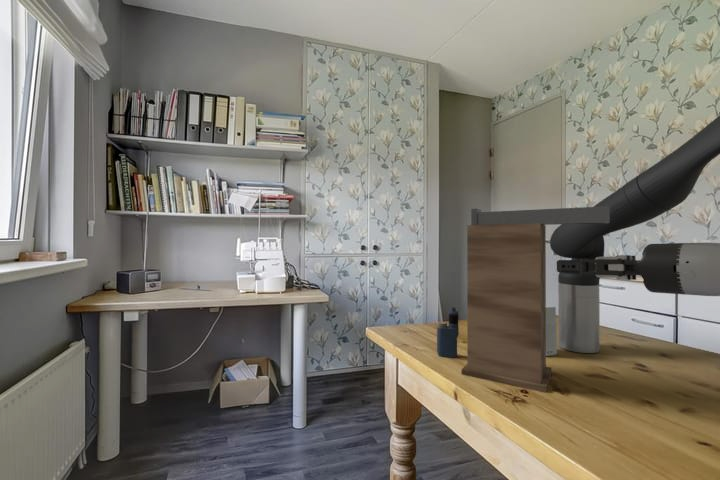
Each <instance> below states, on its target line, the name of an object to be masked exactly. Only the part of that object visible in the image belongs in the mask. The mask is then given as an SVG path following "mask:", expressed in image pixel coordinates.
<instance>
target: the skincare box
mask: <svg viewBox="0 0 720 480" xmlns="http://www.w3.org/2000/svg"><path fill="white" fill-rule="evenodd" d="M556 314H557V313H556V306H551V305H546V357H551V356H555V355H557V354H558V342H557V341H558V336H557V316H556Z"/></svg>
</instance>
